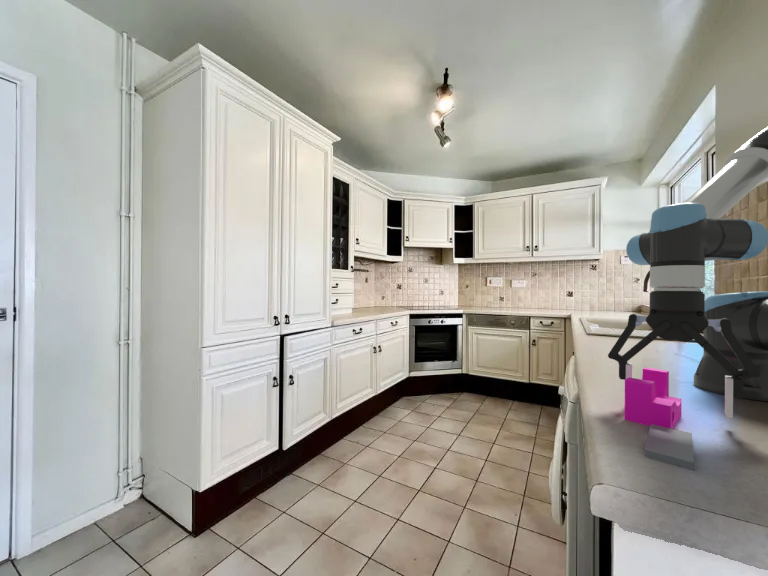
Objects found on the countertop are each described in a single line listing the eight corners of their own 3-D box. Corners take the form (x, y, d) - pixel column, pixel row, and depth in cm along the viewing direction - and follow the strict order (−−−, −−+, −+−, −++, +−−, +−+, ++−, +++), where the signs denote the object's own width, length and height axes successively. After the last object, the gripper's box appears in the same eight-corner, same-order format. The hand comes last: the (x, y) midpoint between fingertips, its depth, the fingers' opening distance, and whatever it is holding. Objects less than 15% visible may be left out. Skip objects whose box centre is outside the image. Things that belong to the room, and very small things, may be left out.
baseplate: (650, 430, 54) (650, 424, 54) (691, 439, 51) (691, 433, 51) (644, 456, 45) (644, 449, 45) (693, 470, 42) (693, 462, 42)
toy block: (670, 433, 53) (670, 388, 53) (624, 421, 58) (624, 379, 58) (685, 411, 63) (685, 373, 63) (645, 403, 68) (645, 367, 68)
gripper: (777, 291, 54) (775, 418, 54) (599, 289, 71) (598, 386, 71) (788, 290, 48) (786, 433, 48) (592, 289, 65) (591, 394, 65)
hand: (674, 405), depth 60 cm, fingers open, 13 cm apart
